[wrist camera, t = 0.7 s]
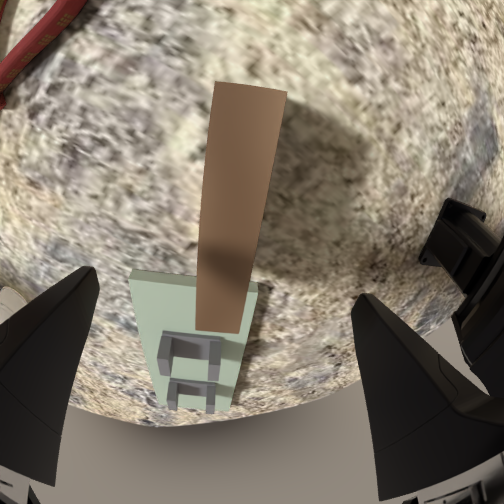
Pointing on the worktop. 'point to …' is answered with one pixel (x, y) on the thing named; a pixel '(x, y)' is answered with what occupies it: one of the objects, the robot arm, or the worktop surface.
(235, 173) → the brown wooden block
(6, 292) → the container set
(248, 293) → the hinge base
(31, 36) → the pliers
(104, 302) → the worktop surface
